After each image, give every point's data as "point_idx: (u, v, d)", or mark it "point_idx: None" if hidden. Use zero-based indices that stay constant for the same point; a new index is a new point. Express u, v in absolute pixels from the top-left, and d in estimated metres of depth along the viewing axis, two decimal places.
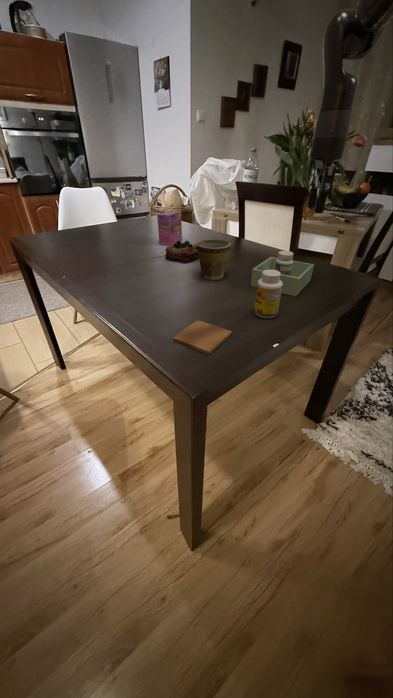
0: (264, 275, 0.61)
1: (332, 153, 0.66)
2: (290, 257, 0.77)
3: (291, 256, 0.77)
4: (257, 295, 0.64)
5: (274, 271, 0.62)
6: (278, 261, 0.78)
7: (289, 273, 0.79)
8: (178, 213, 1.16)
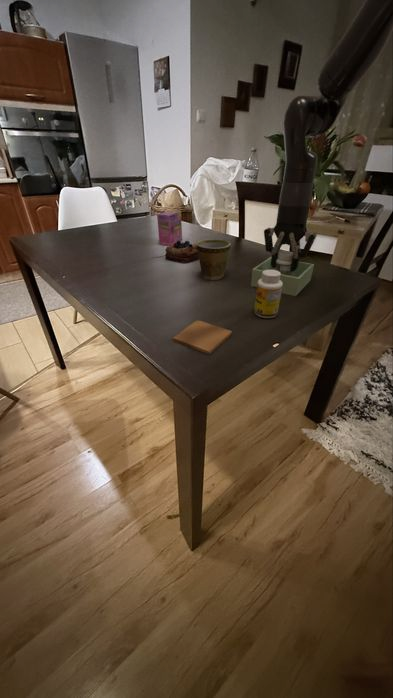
0: (264, 275, 0.61)
1: None
2: (290, 257, 0.77)
3: (291, 256, 0.77)
4: (257, 295, 0.64)
5: (274, 271, 0.62)
6: (278, 261, 0.78)
7: (289, 273, 0.79)
8: (178, 213, 1.16)
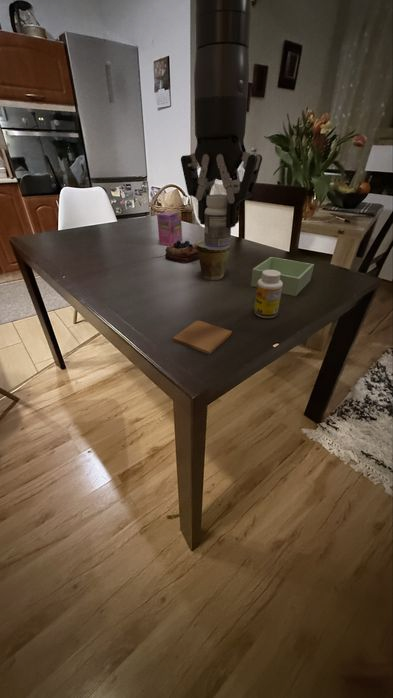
0: (264, 275, 0.61)
1: (243, 126, 0.40)
2: (224, 202, 0.46)
3: (225, 200, 0.46)
4: (257, 295, 0.64)
5: (274, 271, 0.62)
6: (206, 210, 0.48)
7: (226, 231, 0.49)
8: (178, 213, 1.16)
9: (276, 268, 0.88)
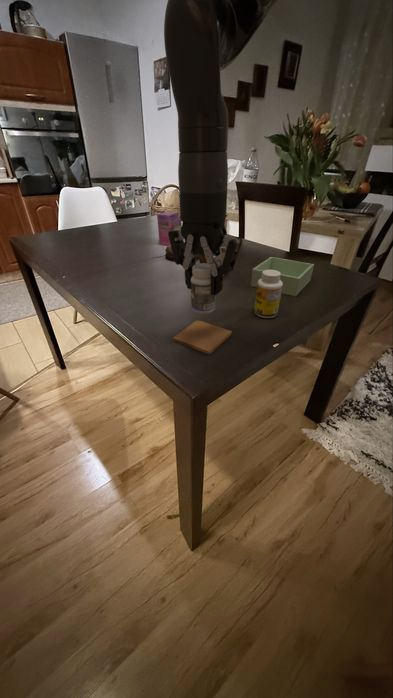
0: (264, 275, 0.61)
1: (224, 213, 0.44)
2: (208, 274, 0.50)
3: (209, 272, 0.50)
4: (257, 295, 0.64)
5: (274, 271, 0.62)
6: (192, 279, 0.51)
7: (210, 297, 0.52)
8: (178, 213, 1.16)
9: (276, 268, 0.88)
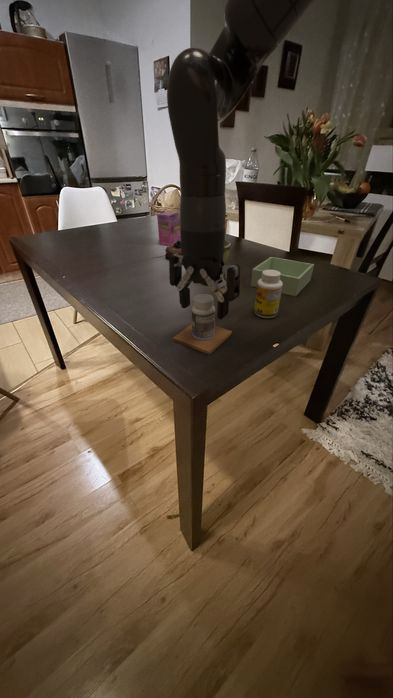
0: (264, 275, 0.61)
1: (222, 248, 0.47)
2: (207, 305, 0.53)
3: (209, 303, 0.53)
4: (257, 295, 0.64)
5: (274, 271, 0.62)
6: (193, 309, 0.55)
7: (210, 325, 0.56)
8: (178, 213, 1.16)
9: (276, 268, 0.88)
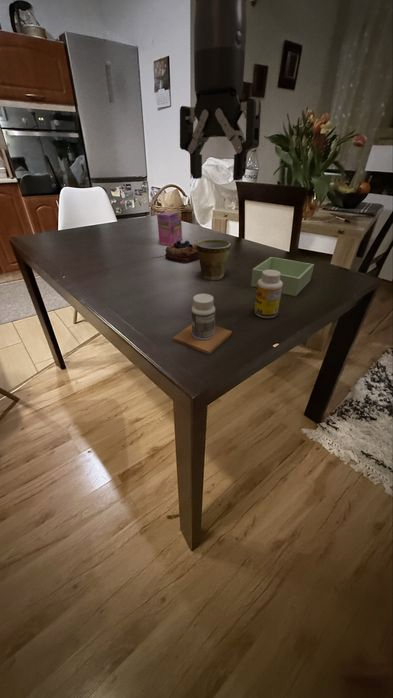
0: (264, 275, 0.61)
1: (241, 79, 0.42)
2: (207, 305, 0.53)
3: (209, 303, 0.53)
4: (257, 295, 0.64)
5: (274, 271, 0.62)
6: (193, 309, 0.55)
7: (210, 325, 0.56)
8: (178, 213, 1.16)
9: (276, 268, 0.88)
